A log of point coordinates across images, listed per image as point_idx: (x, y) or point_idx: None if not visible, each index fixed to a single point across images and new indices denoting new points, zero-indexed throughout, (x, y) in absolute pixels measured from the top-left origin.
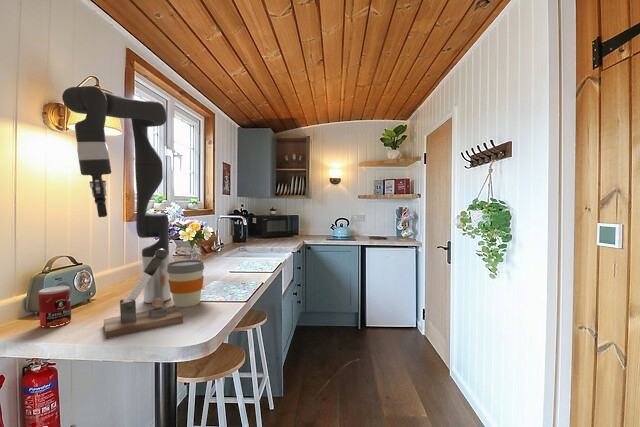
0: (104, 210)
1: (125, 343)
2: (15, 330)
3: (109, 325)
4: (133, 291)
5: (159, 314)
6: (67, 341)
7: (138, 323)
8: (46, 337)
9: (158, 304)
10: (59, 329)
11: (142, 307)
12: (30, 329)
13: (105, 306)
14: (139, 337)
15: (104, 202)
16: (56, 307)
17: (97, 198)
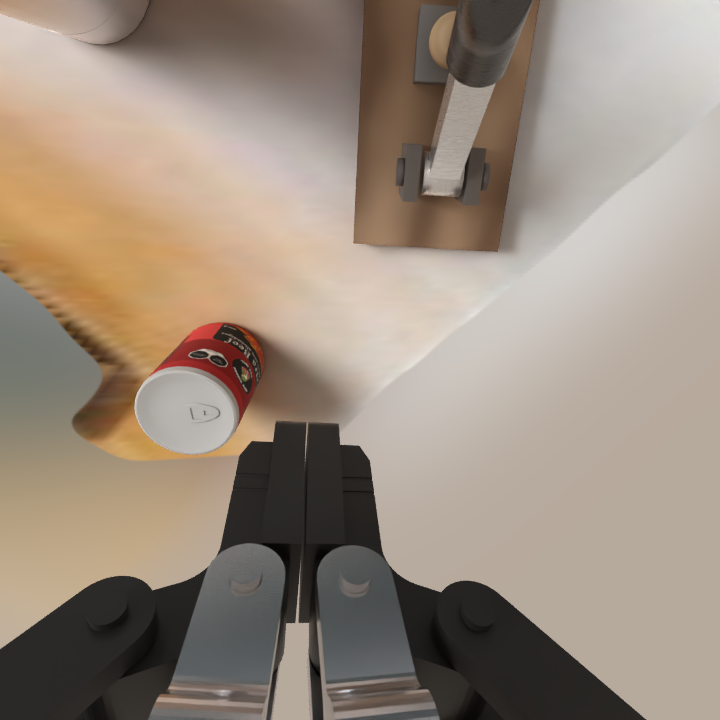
0: (372, 491)
1: (583, 202)
2: None
3: (441, 234)
4: (468, 152)
5: None
6: (428, 334)
7: (499, 144)
8: (349, 377)
9: None
10: (294, 349)
11: (191, 70)
12: None
13: (84, 207)
14: (566, 155)
15: (480, 592)
16: (251, 382)
17: (147, 717)
